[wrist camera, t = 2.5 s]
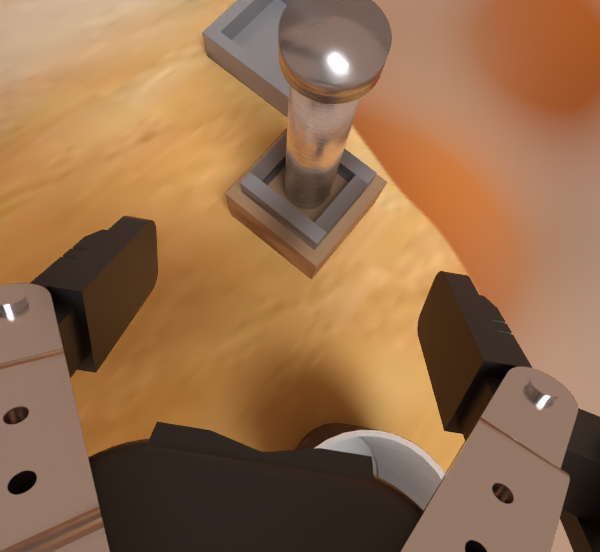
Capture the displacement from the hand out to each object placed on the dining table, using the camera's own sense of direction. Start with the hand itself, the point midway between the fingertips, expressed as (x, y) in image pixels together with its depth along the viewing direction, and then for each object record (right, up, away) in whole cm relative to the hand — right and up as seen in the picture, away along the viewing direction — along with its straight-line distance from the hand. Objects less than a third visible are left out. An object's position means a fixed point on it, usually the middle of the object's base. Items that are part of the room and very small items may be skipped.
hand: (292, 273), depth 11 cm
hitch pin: (+1, +6, +16) cm, 17 cm away
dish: (-1, +19, +23) cm, 30 cm away
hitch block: (0, +5, +20) cm, 21 cm away
